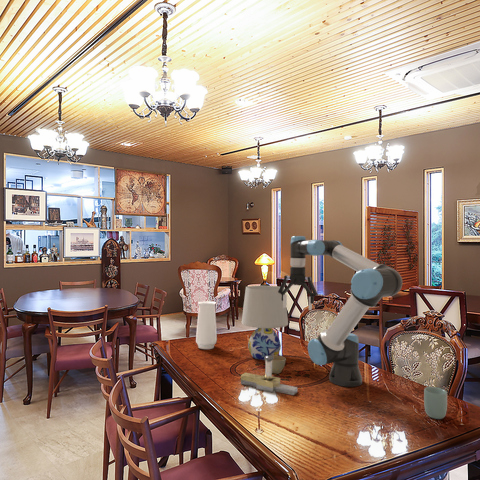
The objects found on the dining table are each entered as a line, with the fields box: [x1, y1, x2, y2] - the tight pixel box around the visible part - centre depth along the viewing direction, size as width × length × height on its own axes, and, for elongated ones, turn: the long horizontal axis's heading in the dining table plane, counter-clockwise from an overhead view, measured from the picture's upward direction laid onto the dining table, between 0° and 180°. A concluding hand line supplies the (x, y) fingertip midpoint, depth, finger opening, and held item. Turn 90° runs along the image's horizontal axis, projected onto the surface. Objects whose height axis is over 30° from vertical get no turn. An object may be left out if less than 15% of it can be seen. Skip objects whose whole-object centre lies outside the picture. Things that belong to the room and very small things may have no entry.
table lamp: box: [241, 285, 289, 361], centre depth 222 cm, size 27×27×40 cm
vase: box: [195, 300, 218, 350], centre depth 241 cm, size 13×13×28 cm
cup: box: [423, 386, 448, 420], centre depth 145 cm, size 8×8×10 cm
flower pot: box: [272, 355, 287, 375], centre depth 195 cm, size 10×10×7 cm
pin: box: [264, 355, 273, 381], centre depth 173 cm, size 4×4×14 cm
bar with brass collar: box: [240, 372, 298, 396], centre depth 172 cm, size 26×8×4 cm, turn 61°
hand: (297, 308), depth 193 cm, fingers open, 13 cm apart
